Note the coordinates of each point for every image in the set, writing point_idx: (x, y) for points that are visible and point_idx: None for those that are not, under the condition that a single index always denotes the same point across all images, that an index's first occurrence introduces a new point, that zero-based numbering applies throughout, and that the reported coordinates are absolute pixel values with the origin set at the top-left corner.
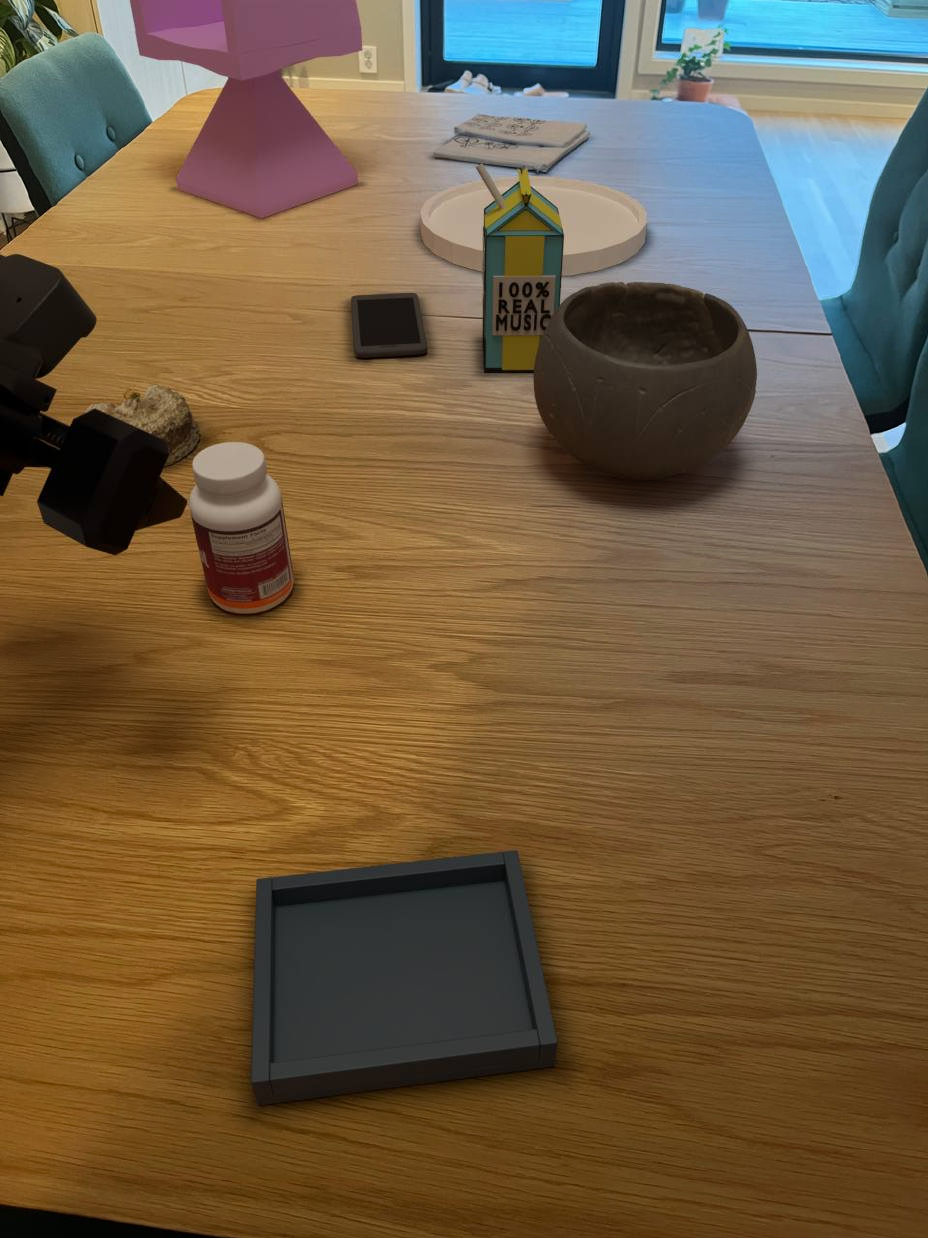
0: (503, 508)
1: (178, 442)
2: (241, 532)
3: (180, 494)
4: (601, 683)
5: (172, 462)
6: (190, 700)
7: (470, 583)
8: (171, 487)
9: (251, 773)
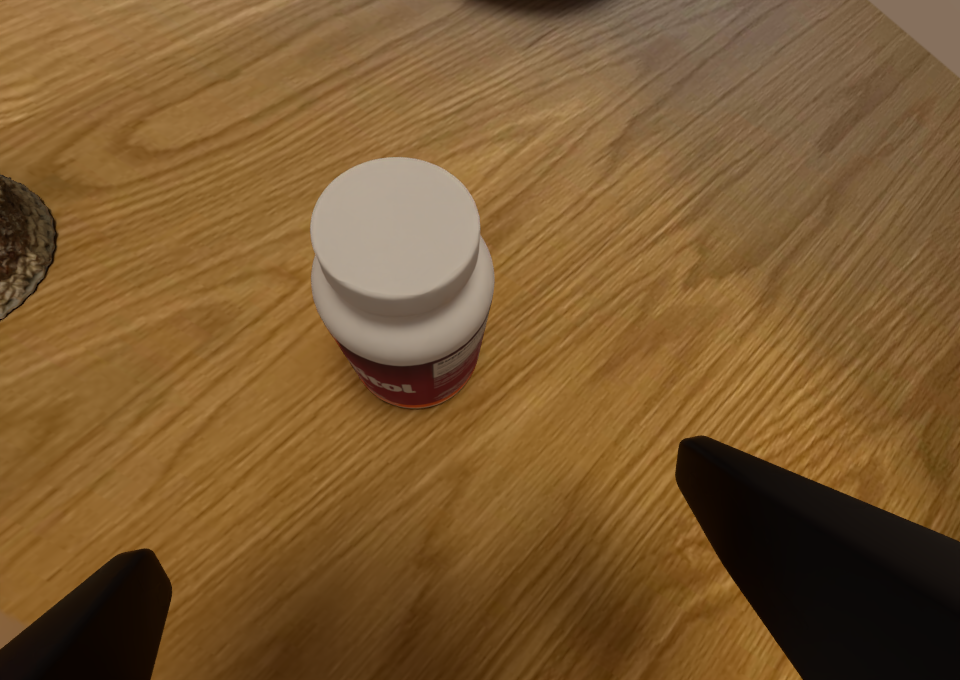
0: (504, 68)
1: (23, 223)
2: (483, 323)
3: (759, 458)
4: (799, 192)
5: (49, 258)
6: (560, 550)
7: (591, 171)
8: (859, 502)
9: None
